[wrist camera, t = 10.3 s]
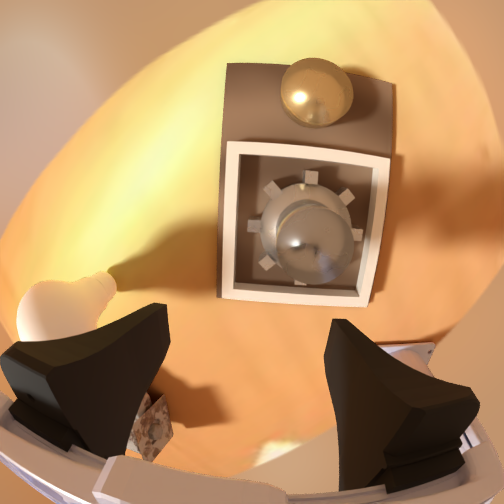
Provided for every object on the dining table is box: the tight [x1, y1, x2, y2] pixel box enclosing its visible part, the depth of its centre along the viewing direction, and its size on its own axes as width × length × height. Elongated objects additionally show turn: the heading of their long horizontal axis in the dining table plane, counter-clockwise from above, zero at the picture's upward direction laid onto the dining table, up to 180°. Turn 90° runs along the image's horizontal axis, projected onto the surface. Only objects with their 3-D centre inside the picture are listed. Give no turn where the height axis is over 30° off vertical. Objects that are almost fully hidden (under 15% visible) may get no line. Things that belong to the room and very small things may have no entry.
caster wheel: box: [127, 392, 173, 462], centre depth 24 cm, size 7×11×10 cm
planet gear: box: [247, 170, 363, 285], centre depth 16 cm, size 8×8×6 cm
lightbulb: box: [16, 271, 117, 341], centre depth 17 cm, size 6×6×11 cm
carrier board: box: [217, 63, 393, 307], centre depth 18 cm, size 18×12×1 cm
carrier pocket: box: [222, 141, 390, 307], centre depth 18 cm, size 11×11×1 cm
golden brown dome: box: [280, 58, 353, 129], centre depth 15 cm, size 4×4×2 cm
